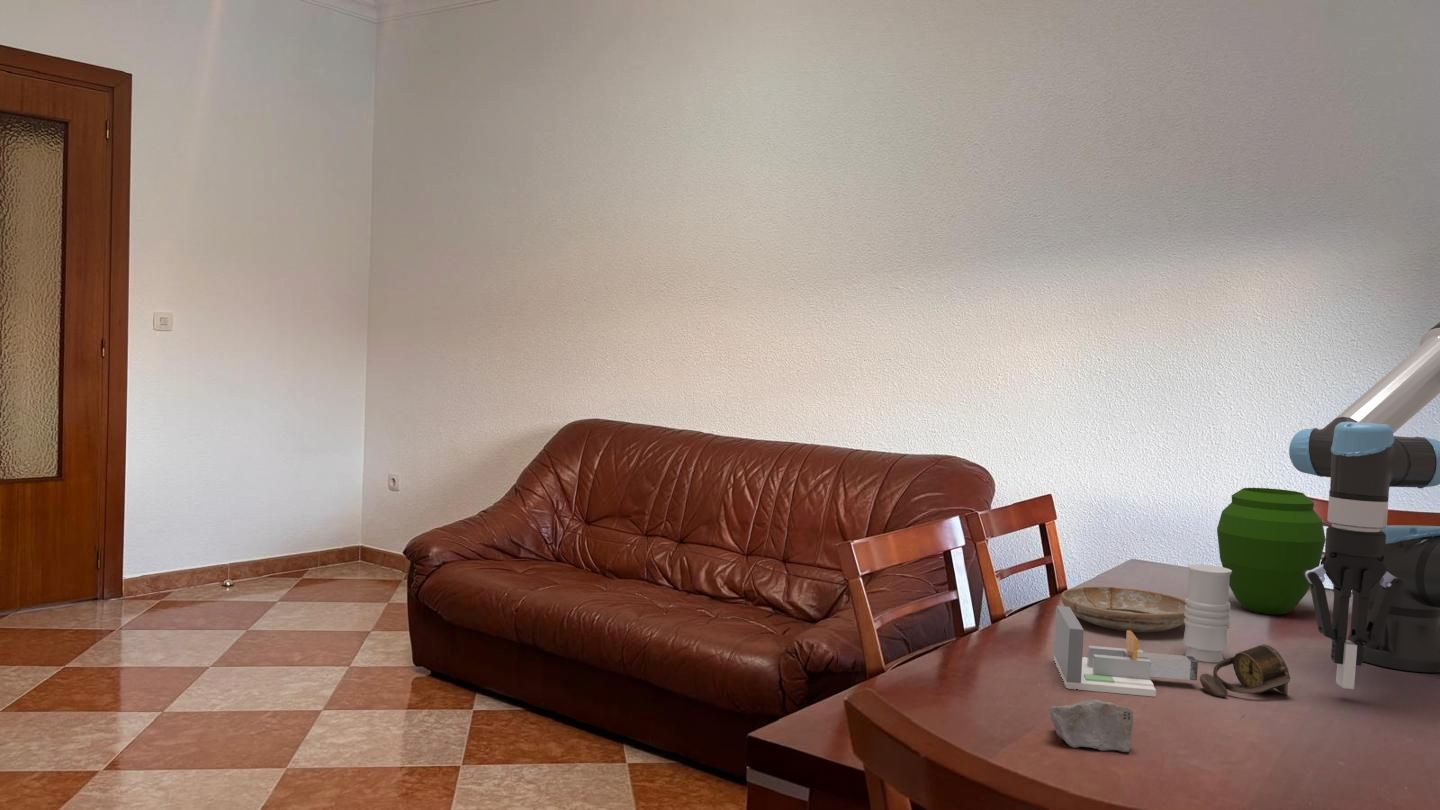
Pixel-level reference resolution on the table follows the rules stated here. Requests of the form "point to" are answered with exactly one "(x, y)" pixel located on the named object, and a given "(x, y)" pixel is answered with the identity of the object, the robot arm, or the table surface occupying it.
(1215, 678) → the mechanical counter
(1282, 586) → the vase
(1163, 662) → the grey metal bar
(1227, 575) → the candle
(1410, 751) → the table surface
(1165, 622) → the ceramic bowl
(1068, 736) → the stone
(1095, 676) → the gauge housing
